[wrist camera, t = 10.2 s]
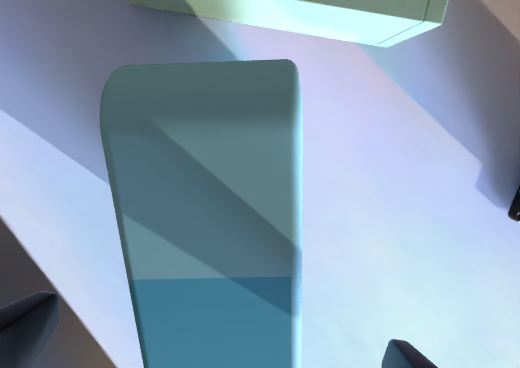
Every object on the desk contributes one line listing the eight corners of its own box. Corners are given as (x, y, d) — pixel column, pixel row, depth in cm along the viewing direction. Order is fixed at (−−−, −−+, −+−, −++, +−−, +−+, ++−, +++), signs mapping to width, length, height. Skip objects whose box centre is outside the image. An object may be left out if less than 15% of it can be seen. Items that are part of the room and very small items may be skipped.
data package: (202, 84, 17) (80, 57, 6) (277, 81, 17) (305, 48, 6) (217, 262, 21) (158, 465, 9) (280, 260, 21) (301, 464, 9)
